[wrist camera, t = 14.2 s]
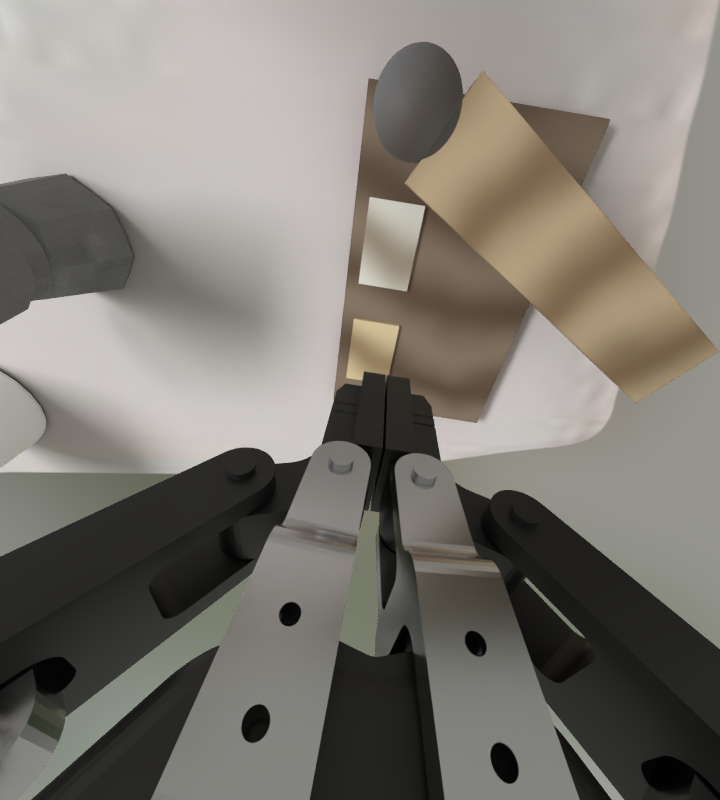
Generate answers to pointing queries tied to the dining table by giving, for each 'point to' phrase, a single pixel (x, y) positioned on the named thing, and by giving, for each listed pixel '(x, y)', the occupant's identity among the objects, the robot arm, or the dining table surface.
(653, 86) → the dining table surface
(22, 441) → the white jar
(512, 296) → the label board
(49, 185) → the coffeepot
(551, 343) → the dining table surface
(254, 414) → the dining table surface
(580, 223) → the swing arm
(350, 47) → the dining table surface
